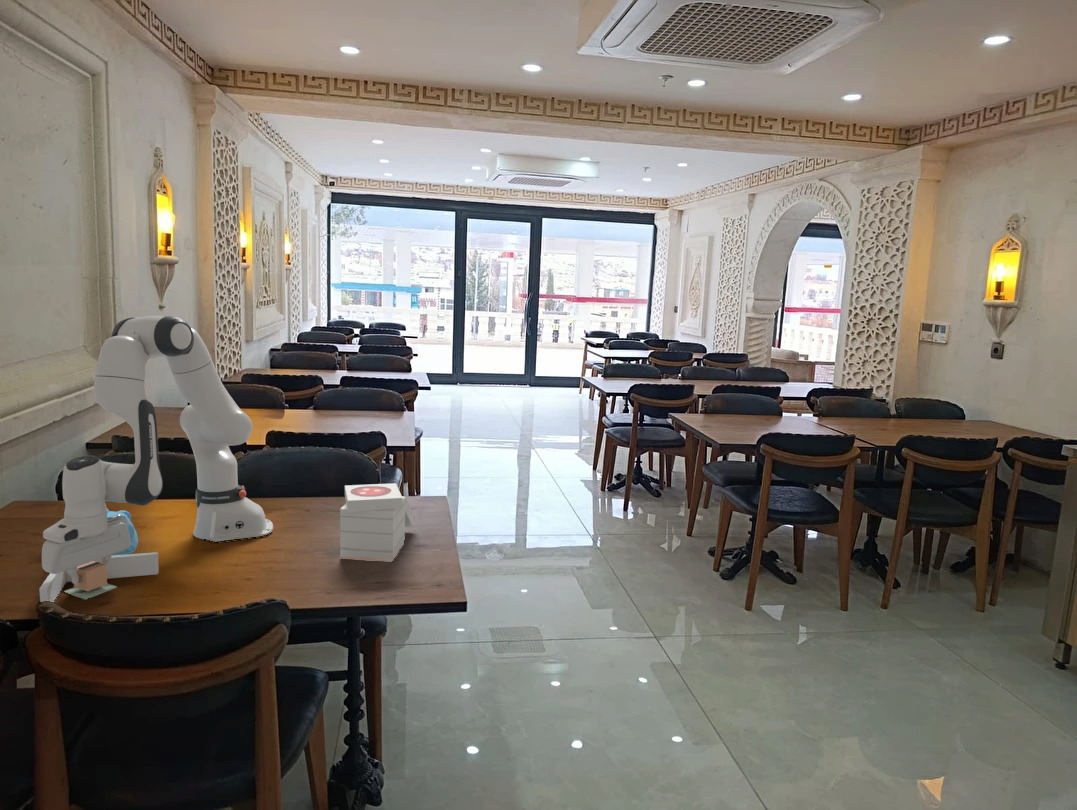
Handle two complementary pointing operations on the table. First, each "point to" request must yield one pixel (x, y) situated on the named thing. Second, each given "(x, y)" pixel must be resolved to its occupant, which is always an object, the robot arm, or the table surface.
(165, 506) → the table surface
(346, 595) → the table surface
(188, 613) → the table surface
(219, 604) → the table surface
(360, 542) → the pizza boxes
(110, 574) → the white l-shaped bracket
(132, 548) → the decorative pot
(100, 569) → the cube
